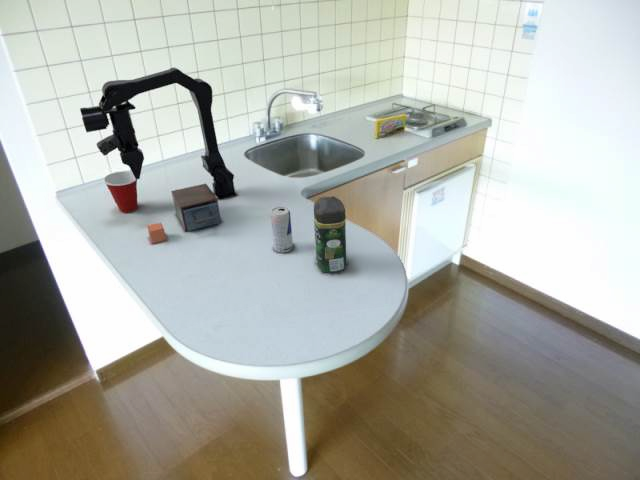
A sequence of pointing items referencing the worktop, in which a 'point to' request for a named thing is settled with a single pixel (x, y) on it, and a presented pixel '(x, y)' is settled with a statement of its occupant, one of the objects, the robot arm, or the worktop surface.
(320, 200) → the coffee jar
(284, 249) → the energy drink
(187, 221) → the drawer
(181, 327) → the worktop surface
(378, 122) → the candy box
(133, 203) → the plastic cup
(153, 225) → the block
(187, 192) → the cabinet
